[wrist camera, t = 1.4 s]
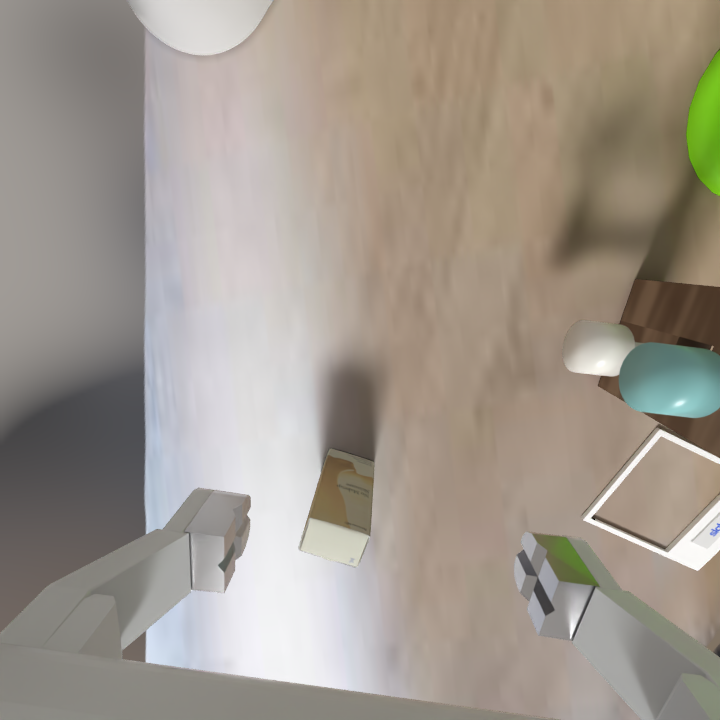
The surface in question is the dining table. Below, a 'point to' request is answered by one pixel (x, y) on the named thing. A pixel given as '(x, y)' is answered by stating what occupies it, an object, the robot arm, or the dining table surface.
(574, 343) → the knob lower
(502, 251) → the dining table surface
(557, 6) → the dining table surface
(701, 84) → the wineglass
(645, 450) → the photo frame
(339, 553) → the skincare box
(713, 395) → the knob upper
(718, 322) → the block
